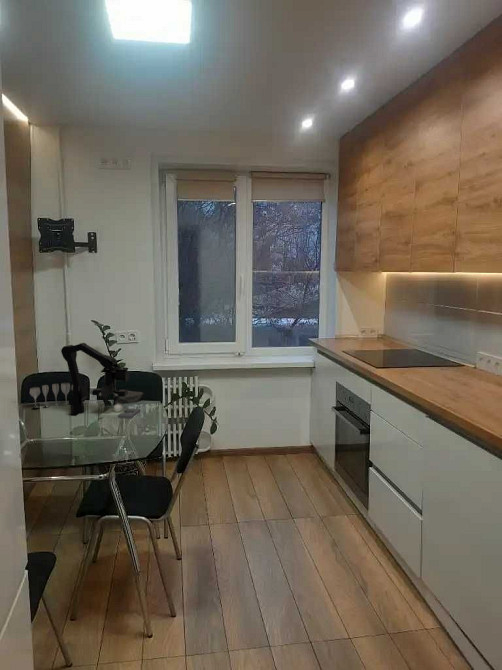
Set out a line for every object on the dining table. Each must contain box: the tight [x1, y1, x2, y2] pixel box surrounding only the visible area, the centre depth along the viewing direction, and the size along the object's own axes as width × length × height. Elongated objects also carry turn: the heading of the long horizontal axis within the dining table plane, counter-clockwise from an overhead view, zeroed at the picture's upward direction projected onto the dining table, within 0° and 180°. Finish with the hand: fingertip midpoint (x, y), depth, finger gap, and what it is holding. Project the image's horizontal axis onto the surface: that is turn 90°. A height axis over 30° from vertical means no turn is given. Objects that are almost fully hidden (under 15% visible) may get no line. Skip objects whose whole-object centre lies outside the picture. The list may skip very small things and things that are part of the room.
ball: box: [114, 403, 124, 412], centre depth 277 cm, size 5×5×5 cm
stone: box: [117, 389, 145, 405], centre depth 300 cm, size 18×9×10 cm
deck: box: [99, 407, 141, 419], centre depth 277 cm, size 18×14×2 cm
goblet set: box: [29, 382, 73, 407], centre depth 296 cm, size 28×6×13 cm, turn 116°
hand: (110, 407), depth 277 cm, fingers open, 4 cm apart
